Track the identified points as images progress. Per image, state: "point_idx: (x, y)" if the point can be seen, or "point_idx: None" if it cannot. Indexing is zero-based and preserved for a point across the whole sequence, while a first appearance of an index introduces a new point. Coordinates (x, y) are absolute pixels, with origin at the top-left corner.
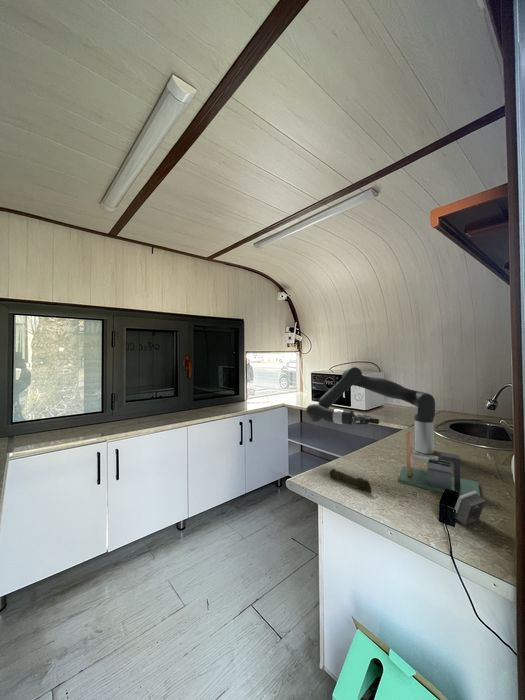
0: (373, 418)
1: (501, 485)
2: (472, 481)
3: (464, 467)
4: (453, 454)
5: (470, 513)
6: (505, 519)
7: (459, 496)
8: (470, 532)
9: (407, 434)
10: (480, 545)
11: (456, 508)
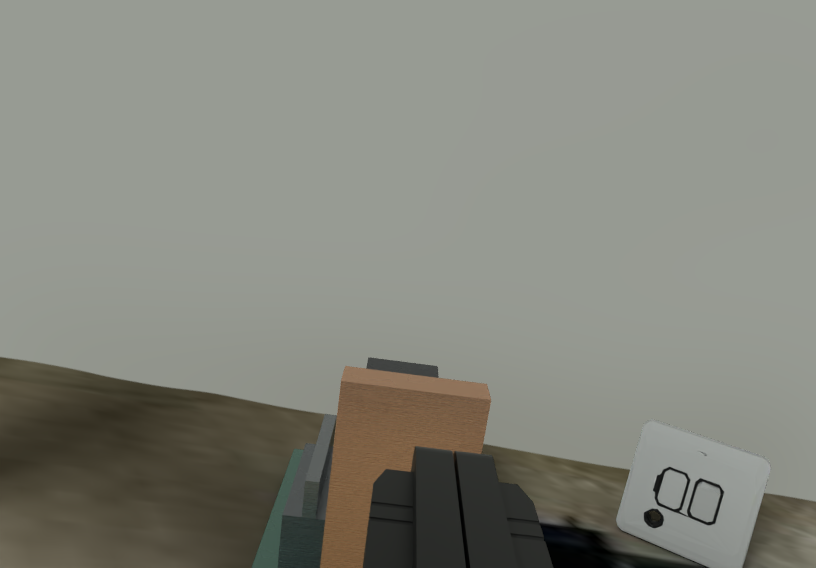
0: (429, 524)
1: (258, 412)
2: (299, 461)
3: (56, 462)
4: (374, 369)
5: (648, 514)
6: (556, 459)
7: (767, 461)
8: (759, 545)
9: (468, 393)
10: (807, 536)
11: (756, 517)
